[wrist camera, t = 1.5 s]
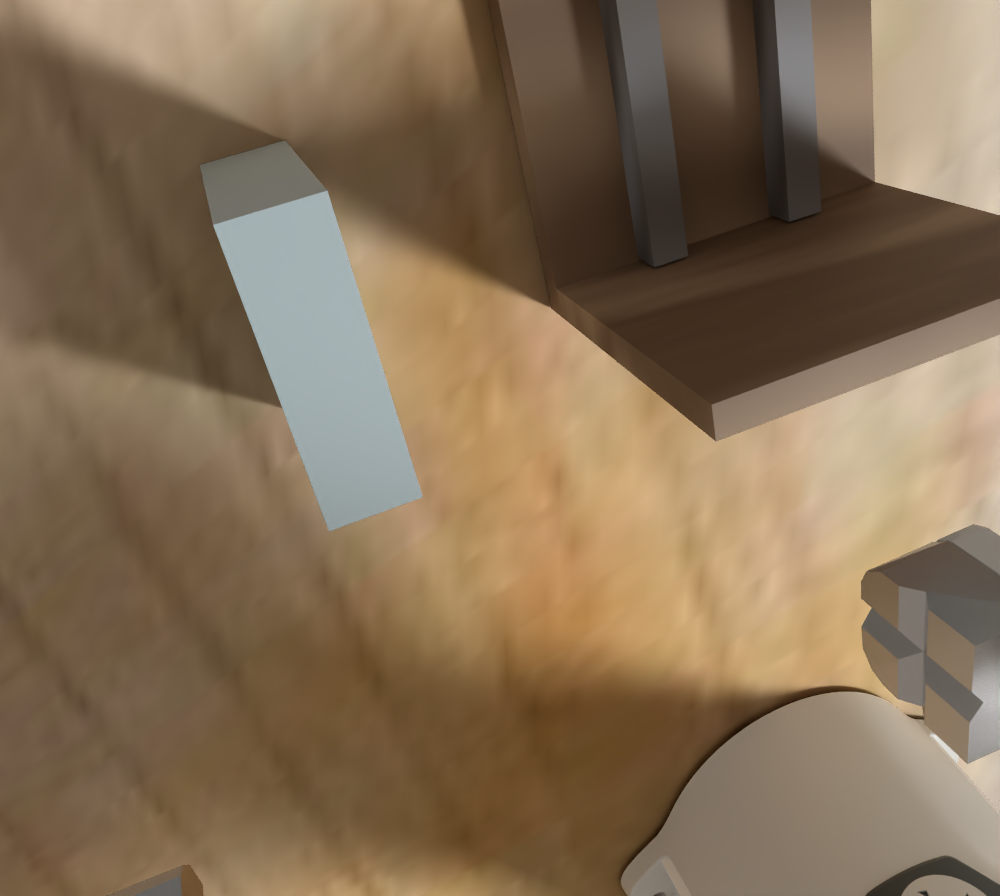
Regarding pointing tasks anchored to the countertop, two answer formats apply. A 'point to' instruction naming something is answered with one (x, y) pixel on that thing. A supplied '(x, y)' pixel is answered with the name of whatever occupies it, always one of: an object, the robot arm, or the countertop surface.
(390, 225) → the countertop surface
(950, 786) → the robot arm
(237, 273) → the door panel
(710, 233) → the cabinet
